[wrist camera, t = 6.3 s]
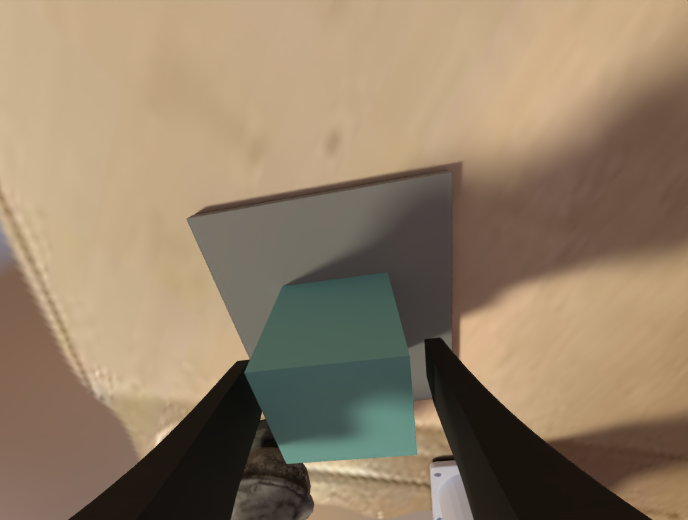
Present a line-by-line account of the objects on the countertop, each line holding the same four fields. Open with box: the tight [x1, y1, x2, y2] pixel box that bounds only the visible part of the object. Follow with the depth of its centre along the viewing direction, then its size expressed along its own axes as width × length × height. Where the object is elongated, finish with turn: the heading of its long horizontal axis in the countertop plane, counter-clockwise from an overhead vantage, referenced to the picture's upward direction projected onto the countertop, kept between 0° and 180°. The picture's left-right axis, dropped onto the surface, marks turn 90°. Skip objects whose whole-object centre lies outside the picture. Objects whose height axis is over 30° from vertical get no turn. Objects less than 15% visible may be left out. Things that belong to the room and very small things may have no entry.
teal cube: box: [244, 272, 417, 464], centre depth 11 cm, size 5×5×5 cm
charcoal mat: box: [187, 170, 452, 401], centre depth 14 cm, size 13×11×1 cm
